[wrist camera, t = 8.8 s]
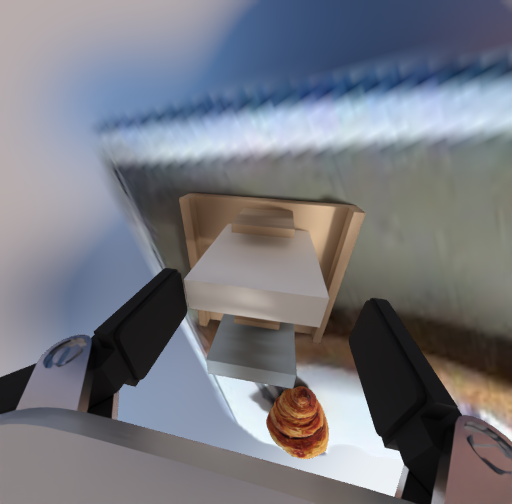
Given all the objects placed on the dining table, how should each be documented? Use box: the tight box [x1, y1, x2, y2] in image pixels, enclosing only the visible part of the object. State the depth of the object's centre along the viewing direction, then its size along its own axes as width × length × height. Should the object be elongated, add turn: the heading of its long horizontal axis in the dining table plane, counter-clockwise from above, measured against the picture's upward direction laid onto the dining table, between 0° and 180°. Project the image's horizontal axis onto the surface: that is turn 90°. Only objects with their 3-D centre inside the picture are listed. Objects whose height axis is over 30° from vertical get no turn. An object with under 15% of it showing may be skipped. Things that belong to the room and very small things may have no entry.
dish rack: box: [179, 193, 366, 389], centre depth 15 cm, size 14×15×8 cm
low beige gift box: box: [184, 224, 329, 328], centre depth 12 cm, size 7×2×8 cm, turn 87°
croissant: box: [266, 386, 329, 459], centre depth 30 cm, size 21×10×8 cm, turn 4°
